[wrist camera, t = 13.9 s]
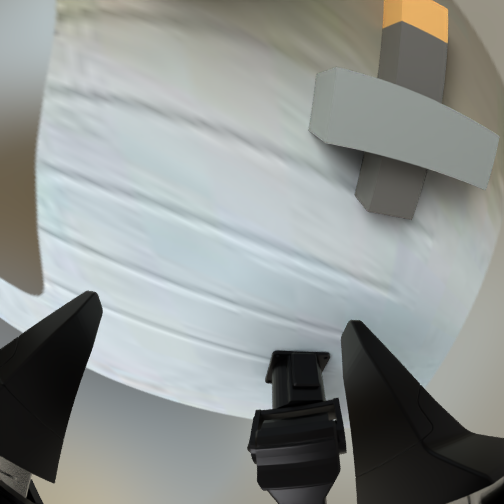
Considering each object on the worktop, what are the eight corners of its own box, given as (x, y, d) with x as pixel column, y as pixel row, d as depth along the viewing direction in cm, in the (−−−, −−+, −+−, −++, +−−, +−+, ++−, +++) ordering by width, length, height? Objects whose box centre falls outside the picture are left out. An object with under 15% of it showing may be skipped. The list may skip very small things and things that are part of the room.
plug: (394, 202, 19) (411, 219, 16) (354, 194, 19) (367, 211, 16) (426, 15, 10) (447, 9, 8) (384, -4, 10) (402, -15, 8)
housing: (447, 167, 17) (485, 190, 13) (308, 130, 16) (325, 143, 12) (458, 122, 15) (499, 136, 10) (316, 73, 14) (336, 66, 10)
